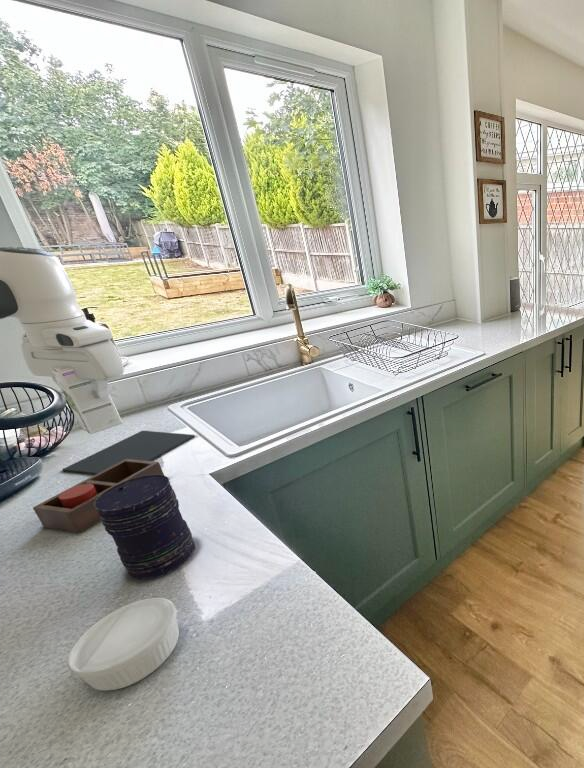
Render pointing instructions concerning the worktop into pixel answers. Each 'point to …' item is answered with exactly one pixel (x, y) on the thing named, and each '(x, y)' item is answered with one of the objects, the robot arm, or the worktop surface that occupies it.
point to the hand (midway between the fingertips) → (87, 396)
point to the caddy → (86, 513)
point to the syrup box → (86, 402)
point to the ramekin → (126, 644)
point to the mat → (130, 451)
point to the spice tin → (77, 495)
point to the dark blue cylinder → (146, 526)
